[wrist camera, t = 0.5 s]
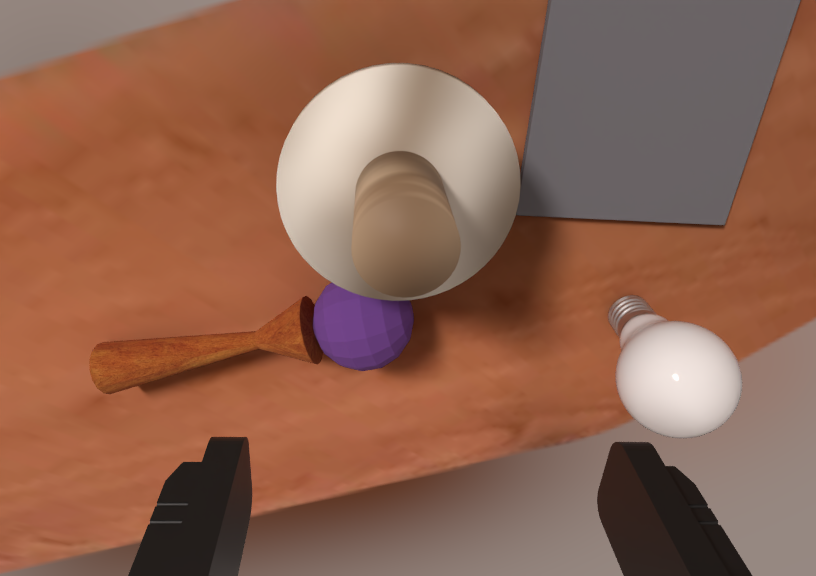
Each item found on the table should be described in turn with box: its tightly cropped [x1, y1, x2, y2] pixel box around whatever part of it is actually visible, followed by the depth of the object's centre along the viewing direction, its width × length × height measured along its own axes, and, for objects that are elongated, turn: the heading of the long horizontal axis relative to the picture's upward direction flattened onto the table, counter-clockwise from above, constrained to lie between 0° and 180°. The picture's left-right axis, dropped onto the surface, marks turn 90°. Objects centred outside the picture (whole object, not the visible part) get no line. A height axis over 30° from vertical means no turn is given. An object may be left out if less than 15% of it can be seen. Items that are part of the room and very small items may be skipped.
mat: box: [516, 0, 800, 225], centre depth 34 cm, size 13×13×1 cm
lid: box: [276, 63, 521, 301], centre depth 25 cm, size 11×11×7 cm
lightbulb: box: [608, 295, 742, 438], centre depth 36 cm, size 6×6×11 cm
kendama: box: [90, 283, 414, 394], centre depth 38 cm, size 6×6×20 cm
